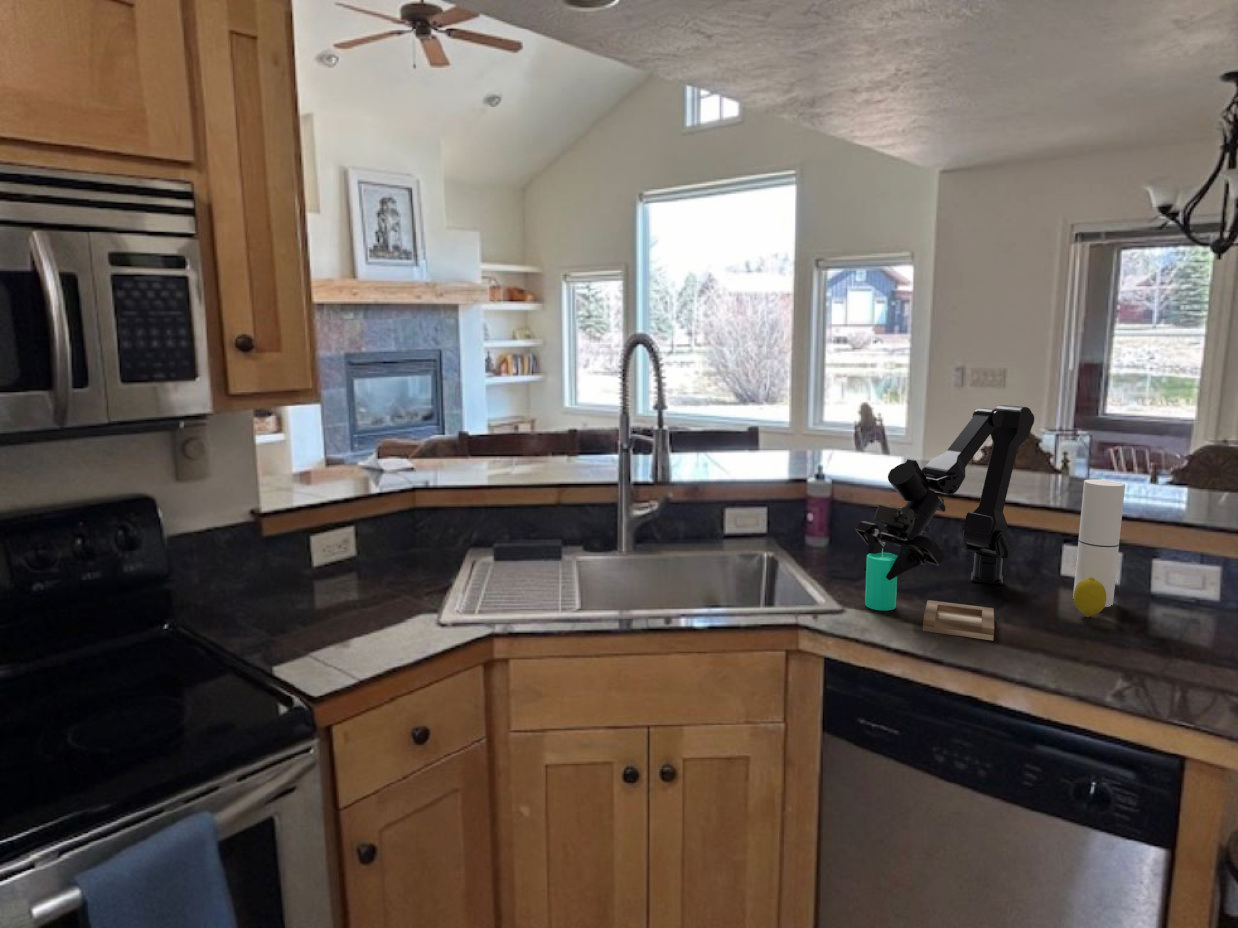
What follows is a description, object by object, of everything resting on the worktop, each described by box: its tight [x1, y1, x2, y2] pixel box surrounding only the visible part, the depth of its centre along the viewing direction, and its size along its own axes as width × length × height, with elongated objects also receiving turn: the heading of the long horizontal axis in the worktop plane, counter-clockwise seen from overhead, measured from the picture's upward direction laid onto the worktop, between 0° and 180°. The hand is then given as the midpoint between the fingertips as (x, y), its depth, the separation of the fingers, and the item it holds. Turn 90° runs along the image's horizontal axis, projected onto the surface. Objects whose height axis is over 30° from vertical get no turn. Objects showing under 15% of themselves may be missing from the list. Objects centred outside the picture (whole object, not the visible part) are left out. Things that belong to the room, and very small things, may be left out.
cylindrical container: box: [1072, 478, 1126, 608], centre depth 165 cm, size 7×7×25 cm
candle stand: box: [922, 599, 995, 642], centre depth 154 cm, size 12×12×2 cm
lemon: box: [1072, 577, 1106, 618], centre depth 157 cm, size 6×6×8 cm
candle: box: [864, 548, 899, 611], centre depth 163 cm, size 6×6×12 cm
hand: (876, 575), depth 163 cm, fingers closed on candle, 5 cm apart
